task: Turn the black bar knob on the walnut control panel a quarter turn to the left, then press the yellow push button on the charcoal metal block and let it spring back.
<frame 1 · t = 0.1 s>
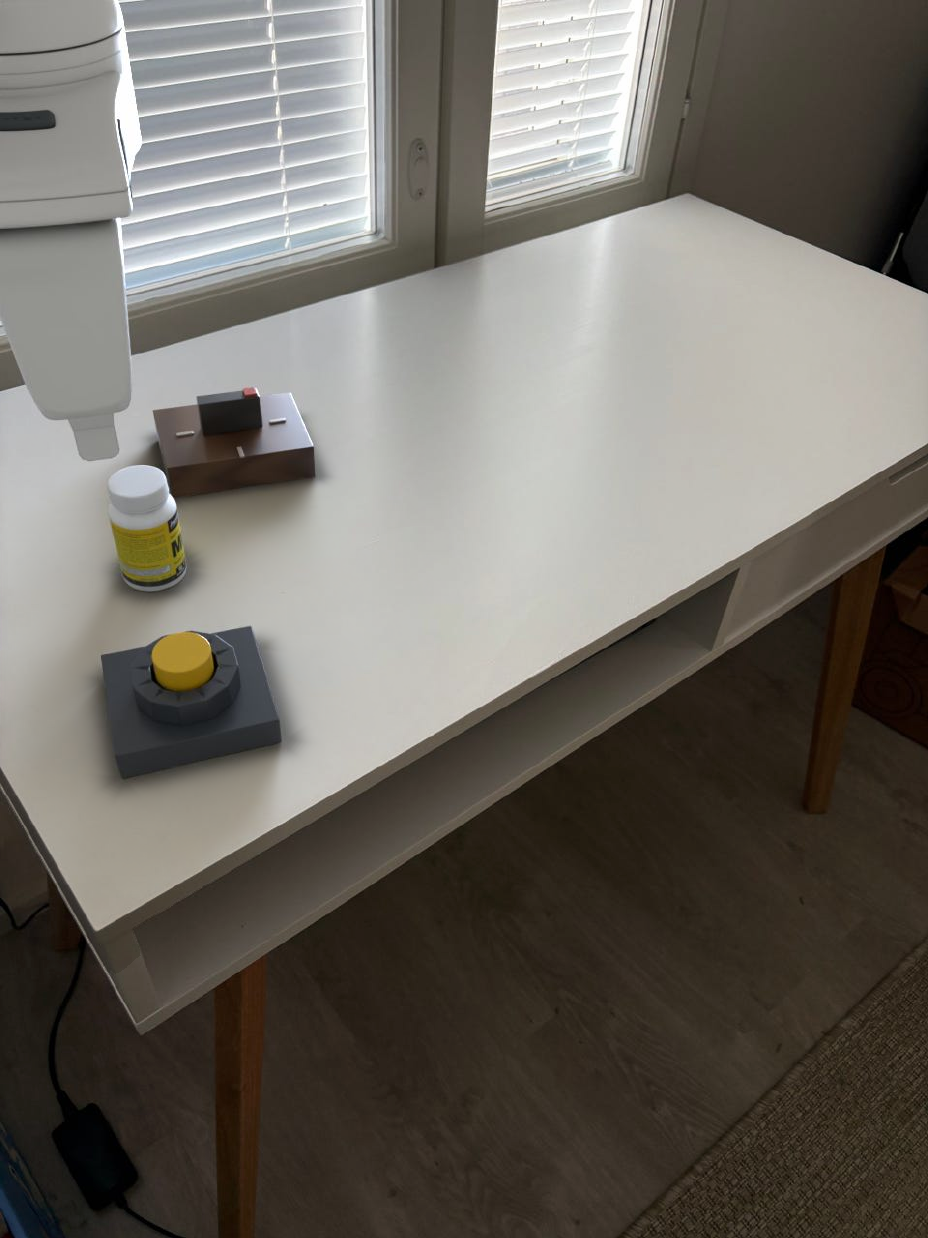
hand: (90, 400, 51), 23 cm above the table, tool pointing down, fingers open, 8 cm apart
dial panel: (235, 457, 88), on the table
dial knob: (229, 410, 84), point 5 cm above the table, hinge at 0.0°
supplement bottle: (155, 574, 76), on the table
button block: (192, 709, 66), on the table
trigger button: (183, 661, 63), point 4 cm above the table, slide at 0.1 cm
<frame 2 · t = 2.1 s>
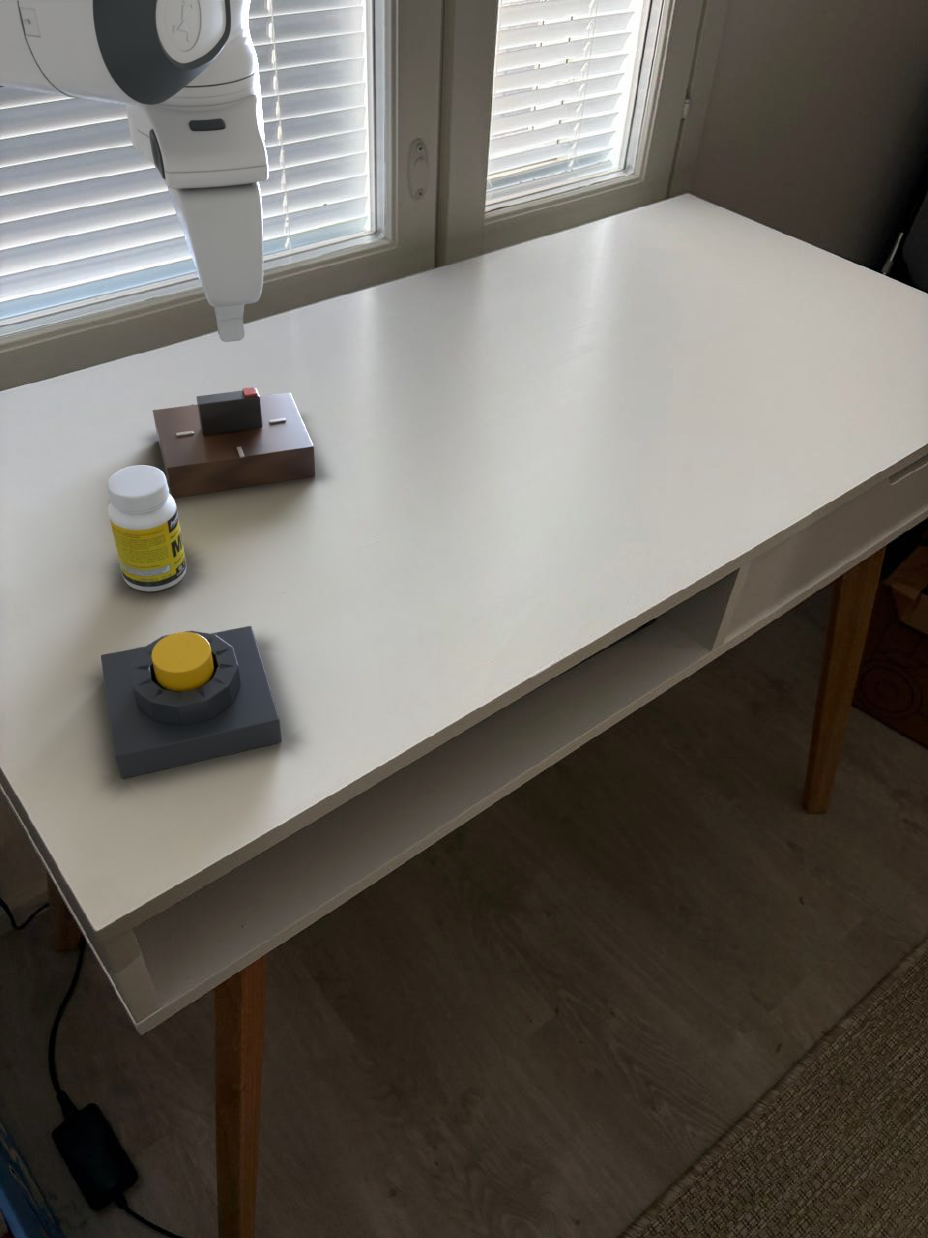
hand: (220, 307, 77), 14 cm above the table, tool pointing down, fingers open, 8 cm apart
nothing on the table moved.
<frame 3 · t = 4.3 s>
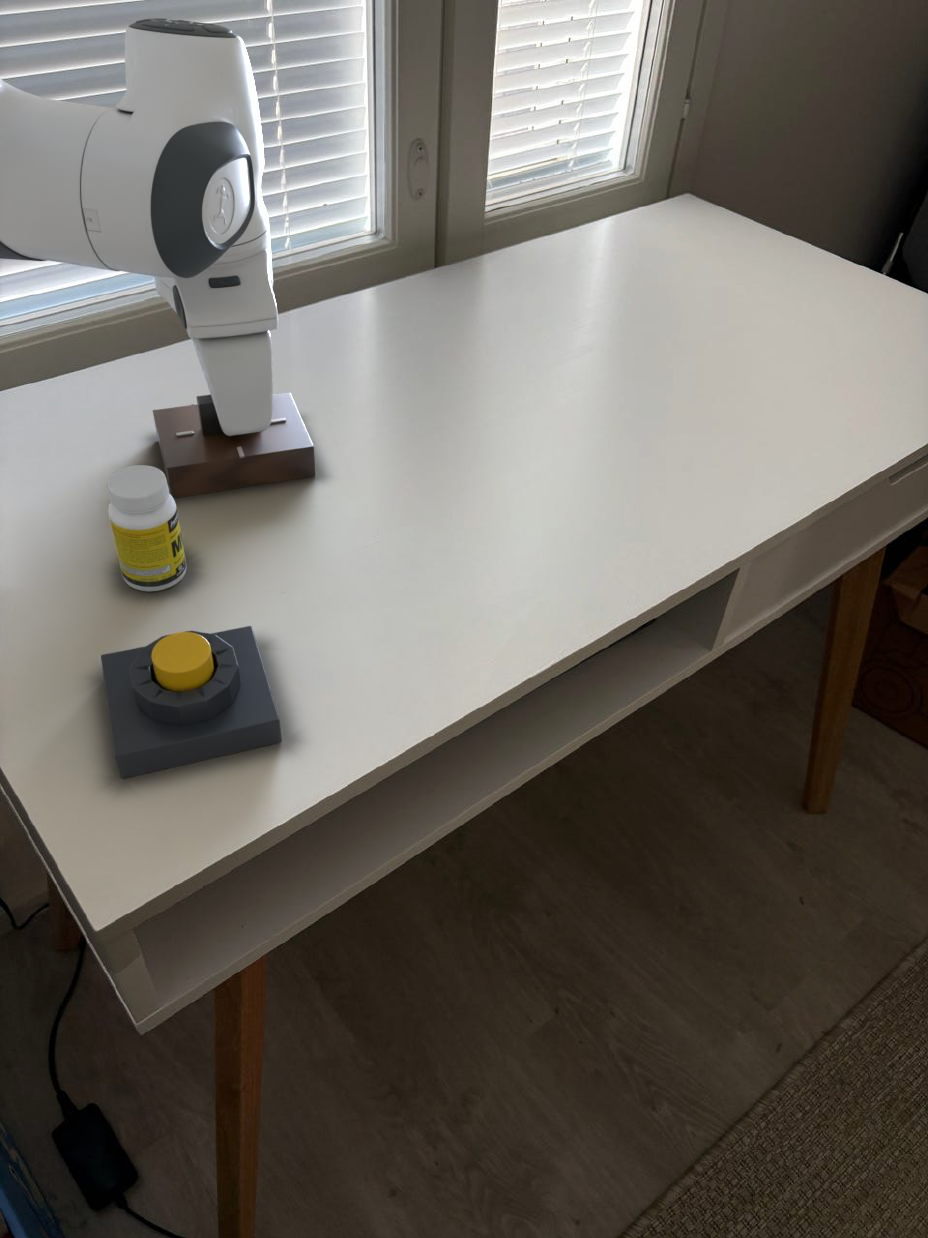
hand: (231, 421, 85), 4 cm above the table, tool pointing down, fingers closed on dial knob
dial knob: (229, 410, 84), point 5 cm above the table, hinge at 0.0°, touching gripper
everything else where it was.
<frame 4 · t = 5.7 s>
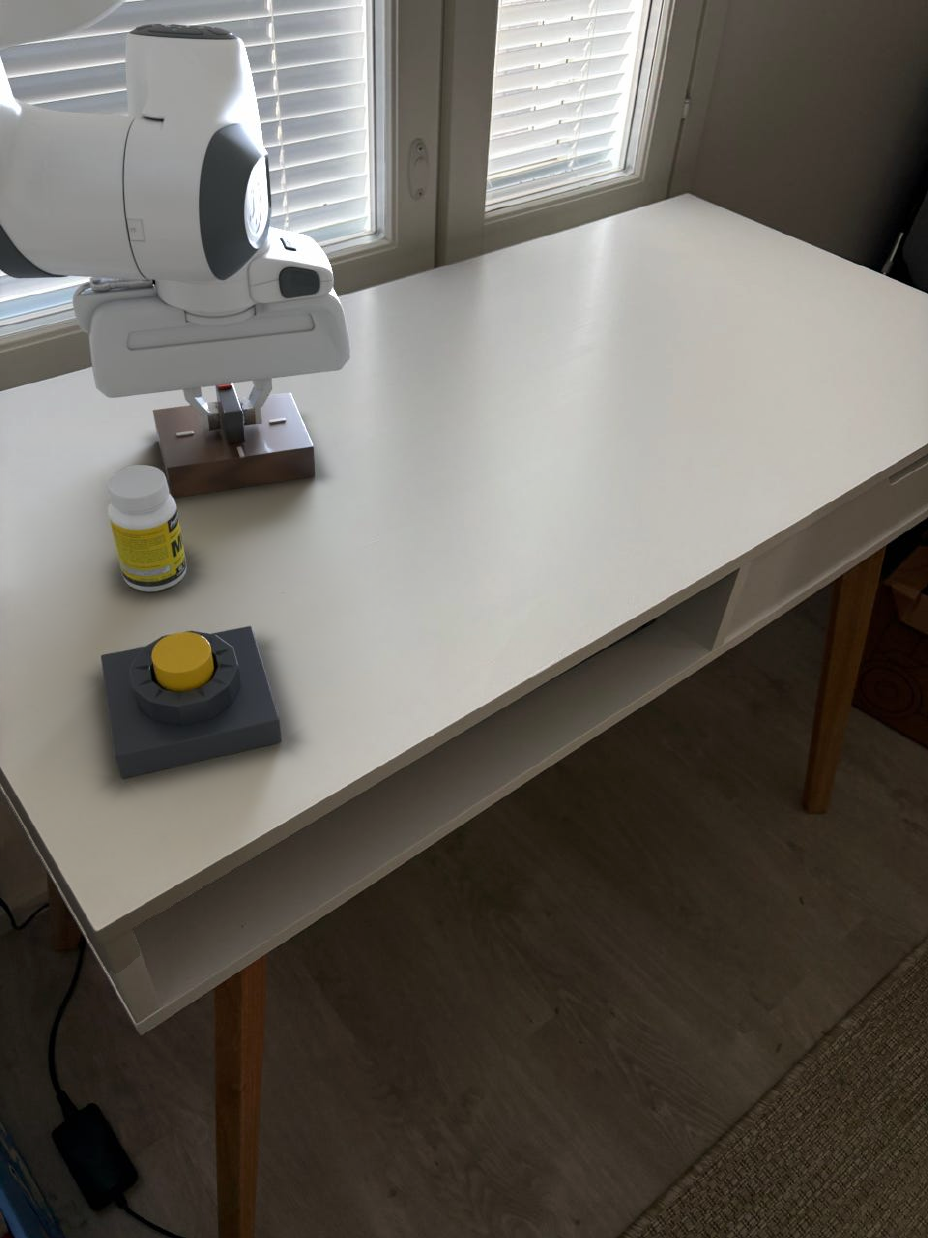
hand: (231, 424, 85), 3 cm above the table, tool pointing down, fingers closed
dial knob: (229, 410, 84), point 5 cm above the table, hinge at 89.5°
everything else where it was.
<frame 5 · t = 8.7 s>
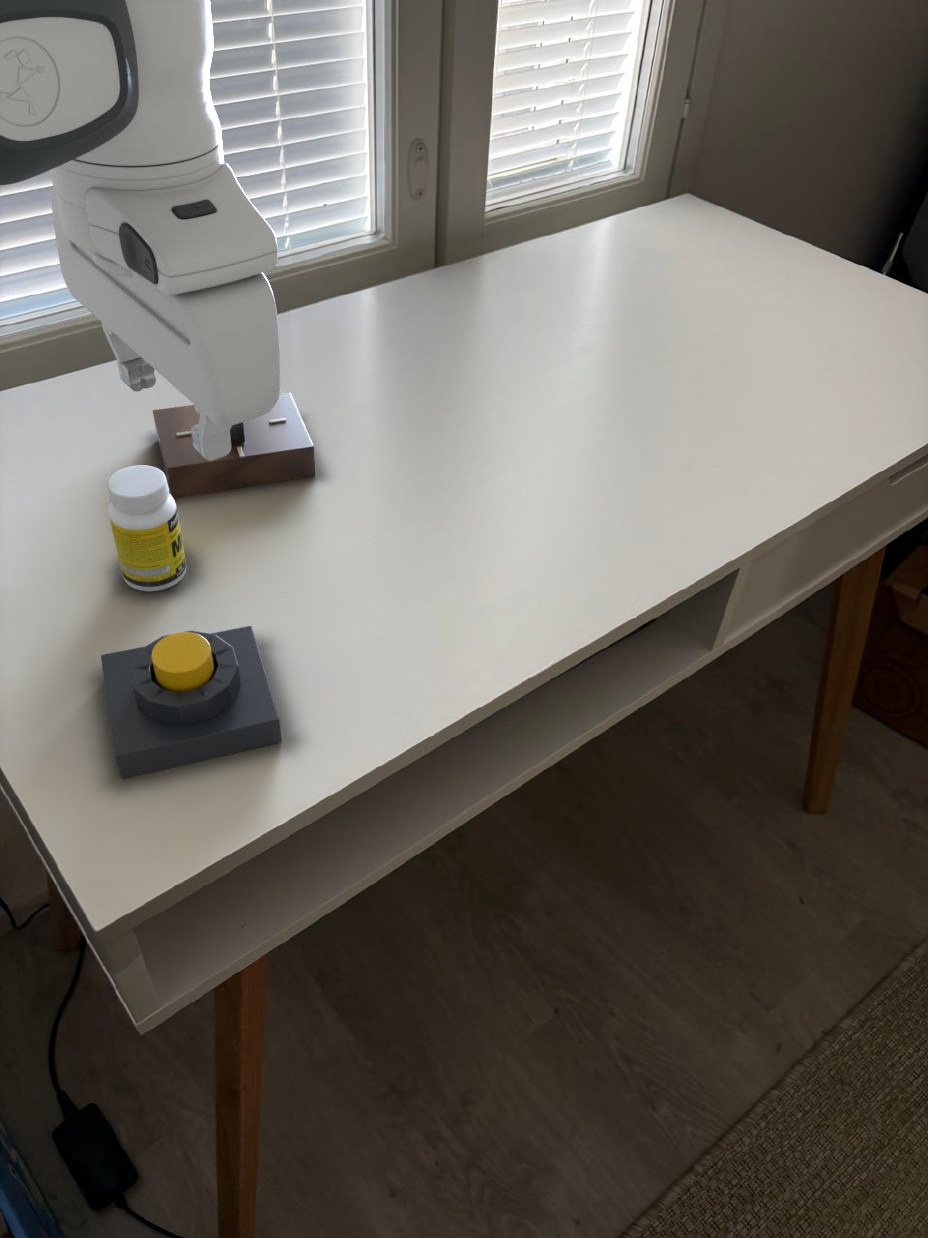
hand: (174, 417, 63), 16 cm above the table, tool pointing down, fingers open, 8 cm apart
nothing on the table moved.
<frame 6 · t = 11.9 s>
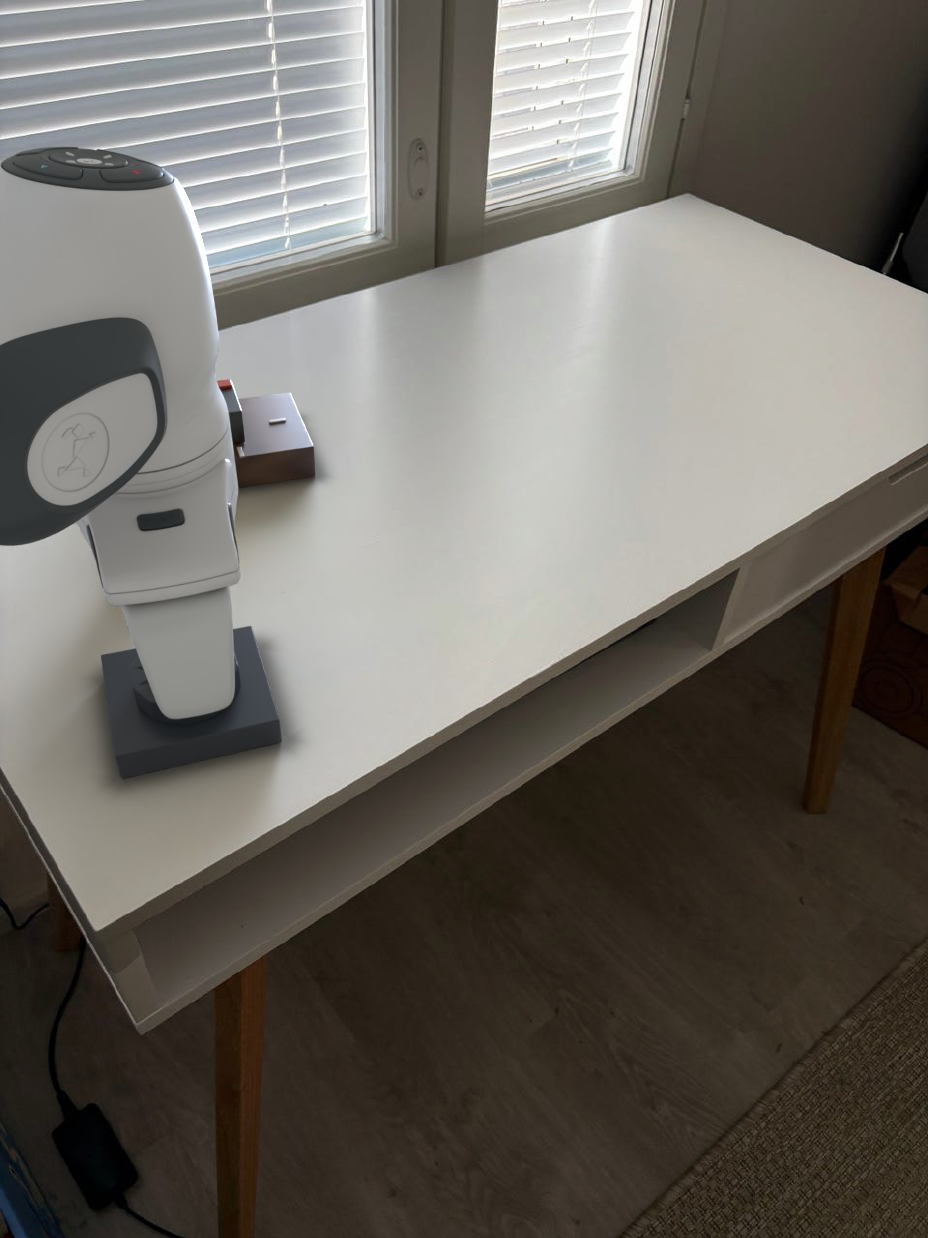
hand: (187, 655, 63), 5 cm above the table, tool pointing down, fingers closed, pressing on trigger button
trigger button: (183, 663, 64), point 4 cm above the table, slide at -0.1 cm, touching gripper
everything else where it was.
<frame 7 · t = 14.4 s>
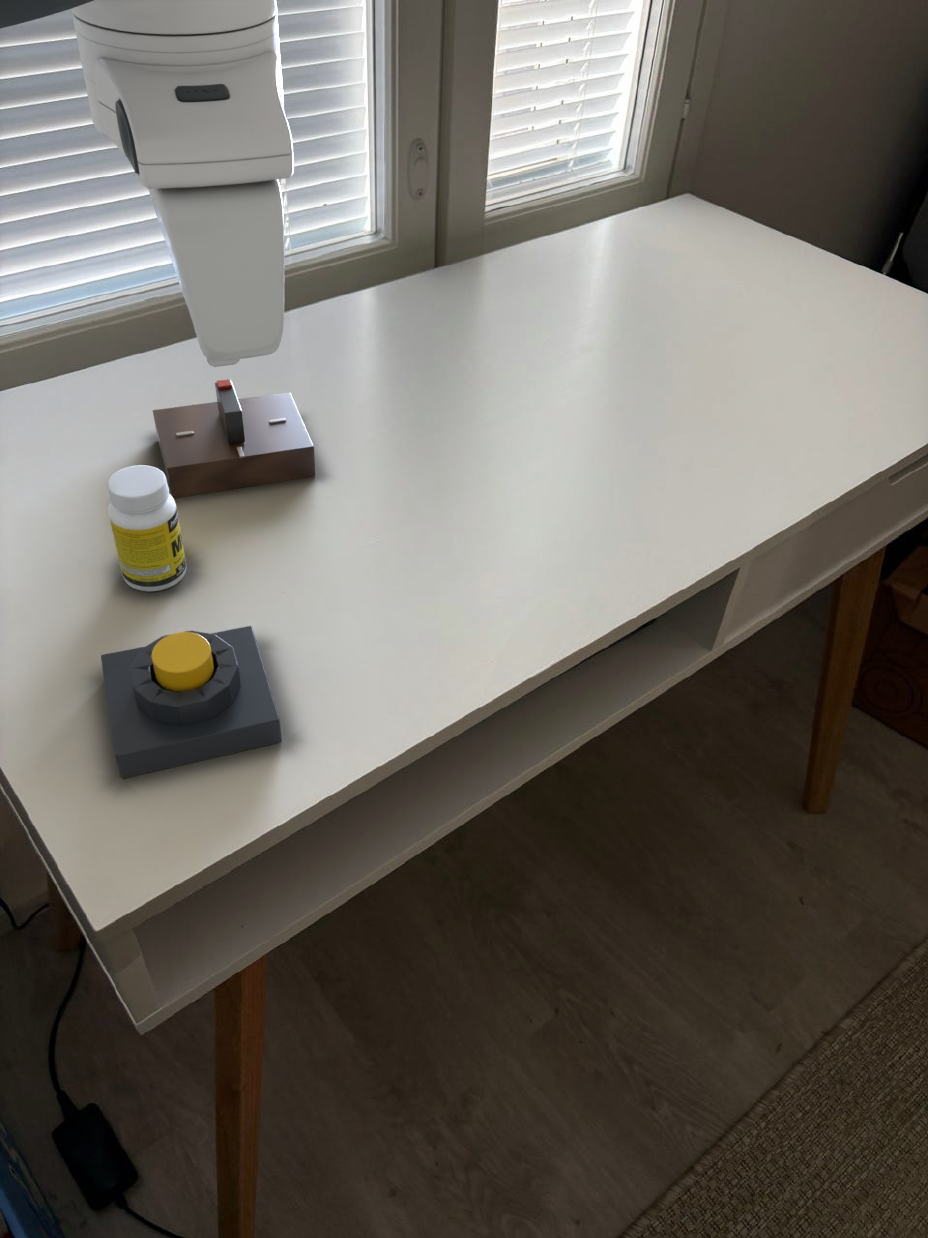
hand: (220, 353, 56), 22 cm above the table, tool pointing down, fingers closed
trigger button: (183, 661, 63), point 4 cm above the table, slide at 0.1 cm
everything else where it was.
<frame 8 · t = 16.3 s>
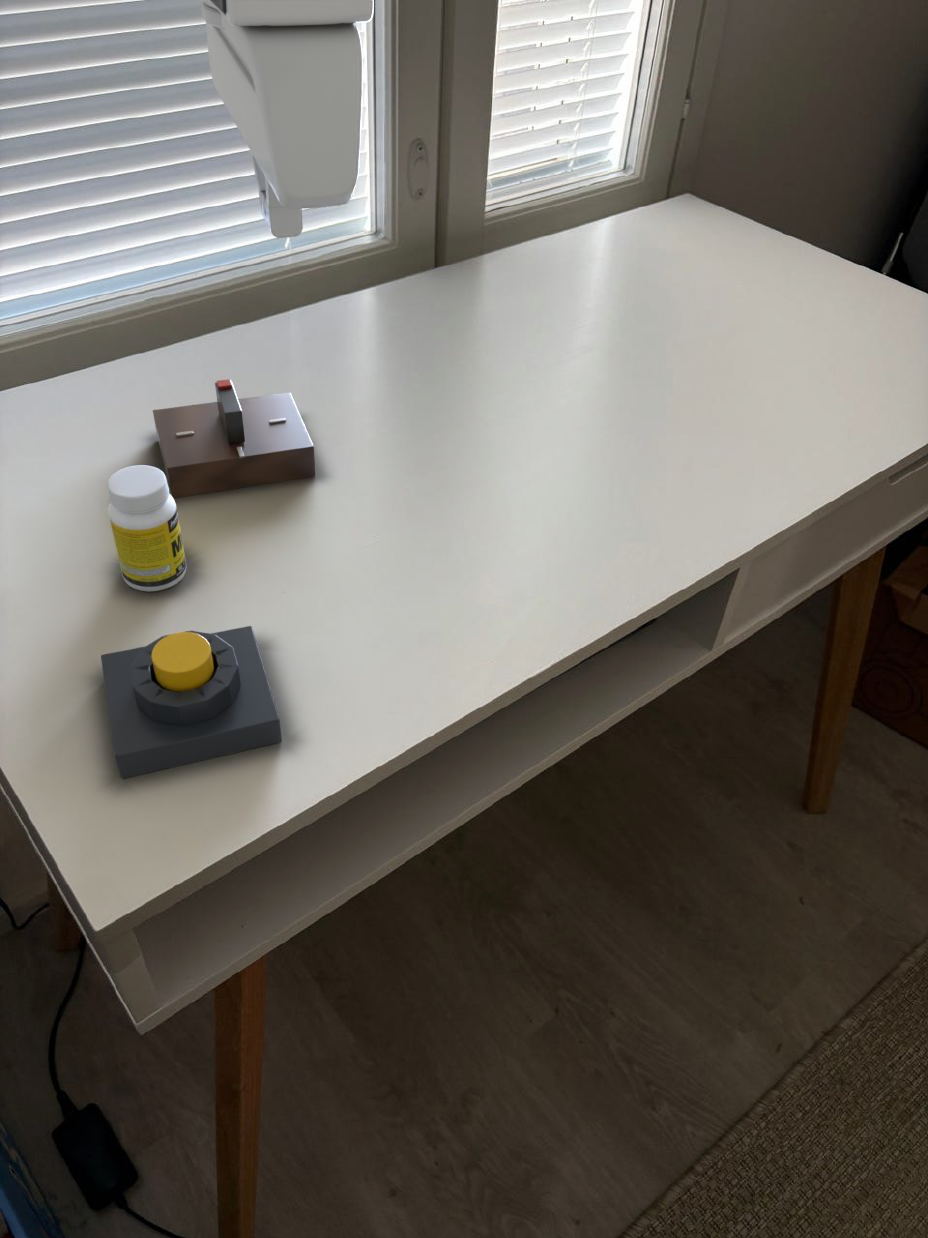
hand: (281, 227, 58), 27 cm above the table, tool pointing down, fingers closed
nothing on the table moved.
at the end: dial knob at +90° (first picture: +0°); trigger button pushed in 1.1 cm at the most during the clip, back to where it started at the end; trigger button slide at 0.1 cm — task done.
